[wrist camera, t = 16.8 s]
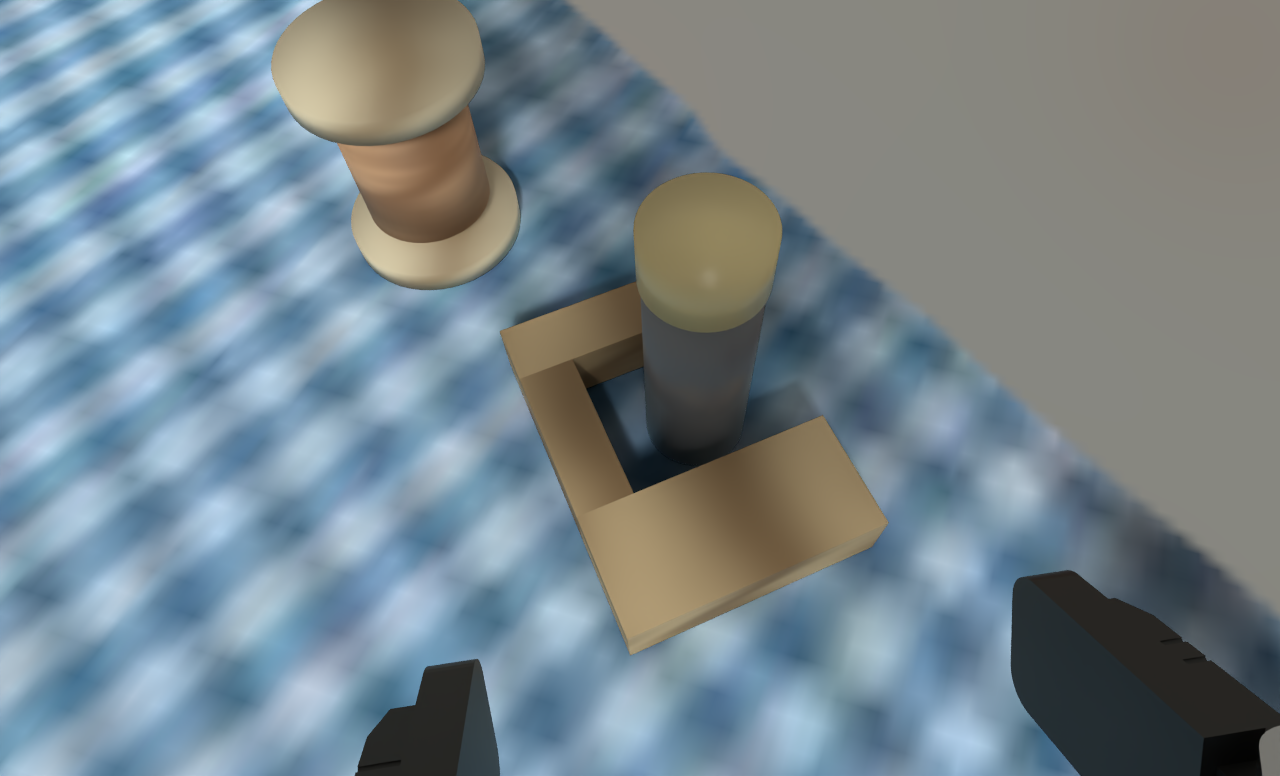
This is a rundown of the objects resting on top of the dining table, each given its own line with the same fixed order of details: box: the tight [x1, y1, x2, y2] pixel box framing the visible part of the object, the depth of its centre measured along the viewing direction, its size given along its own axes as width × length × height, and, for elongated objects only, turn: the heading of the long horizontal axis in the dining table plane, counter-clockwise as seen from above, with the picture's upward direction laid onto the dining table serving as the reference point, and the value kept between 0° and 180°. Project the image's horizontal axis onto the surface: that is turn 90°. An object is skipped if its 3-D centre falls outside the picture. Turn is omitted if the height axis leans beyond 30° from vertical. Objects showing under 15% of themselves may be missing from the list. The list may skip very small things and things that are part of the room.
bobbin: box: [271, 0, 520, 290], centre depth 32 cm, size 7×7×9 cm
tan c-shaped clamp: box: [500, 282, 889, 655], centre depth 29 cm, size 9×12×2 cm
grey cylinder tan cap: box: [633, 173, 782, 465], centre depth 26 cm, size 4×4×11 cm
